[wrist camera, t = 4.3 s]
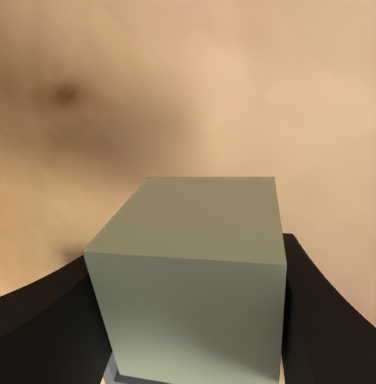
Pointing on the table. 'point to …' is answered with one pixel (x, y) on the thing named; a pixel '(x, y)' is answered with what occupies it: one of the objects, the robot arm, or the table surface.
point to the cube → (194, 281)
